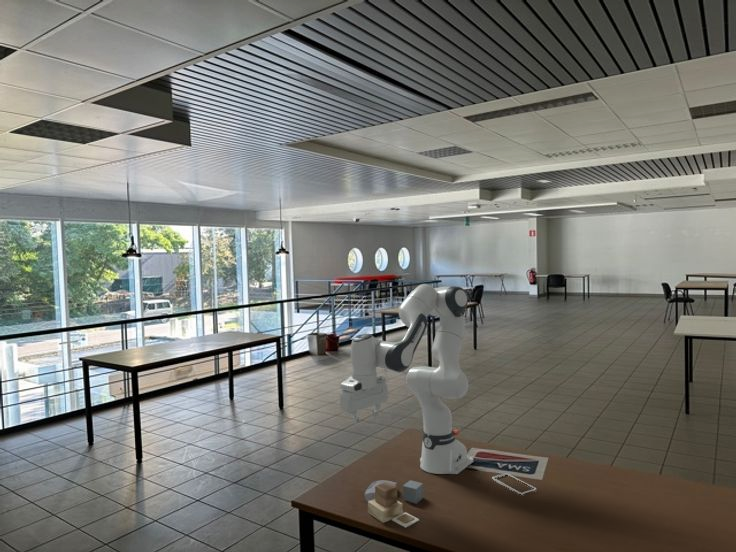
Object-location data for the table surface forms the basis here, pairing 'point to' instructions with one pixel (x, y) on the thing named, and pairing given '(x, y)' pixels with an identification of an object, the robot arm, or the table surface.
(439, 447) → the robot arm
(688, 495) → the table surface
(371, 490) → the stone block
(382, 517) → the oak base block
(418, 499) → the slate cube
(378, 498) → the walnut cube
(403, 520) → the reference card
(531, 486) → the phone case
